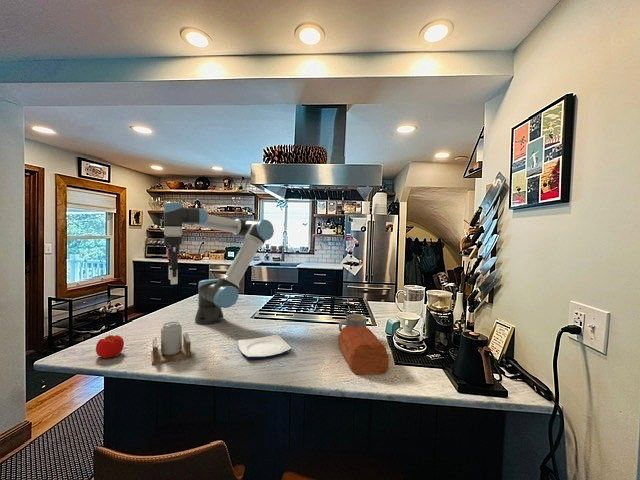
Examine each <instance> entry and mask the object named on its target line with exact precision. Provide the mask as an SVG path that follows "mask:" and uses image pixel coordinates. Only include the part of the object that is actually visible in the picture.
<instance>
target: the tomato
mask: <svg viewBox="0 0 640 480" xmlns="http://www.w3.org/2000/svg"><path fill="white" fill-rule="evenodd" d="M124 346H125V342H124V339H123V337H122V336H121V335H119V334H118V335H111V334H110V335H107V336H105V337H104V338H100V339H99V340H98V341H97V343H96V345H95V353H96V355H97V356H98V357H101V358H104V359H109V358H115V357H117V356H118V355H120V354H121V353H122V351H123V350H124Z"/></svg>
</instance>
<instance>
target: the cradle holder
mask: <svg viewBox="0 0 640 480" xmlns="http://www.w3.org/2000/svg"><path fill="white" fill-rule="evenodd" d="M182 335H183V336H182V337H183V338H182V340H183V341H182V349H181V351H180V352H179V353H177V354H175V355H170V356H166V355H164V354H162V353H161V348H159V345H158V344H159V343H158V337H157V336H154V337H152V350H151V351H150V353H151V354H150V355H151V366H154V365H158V364H159V365H160V364H164V363H170V362H175V361H180V360H185V359H186V360H187V359H191V358H193V353H192V351H191V344H192V343H191V342H192V341H191V339H190V336H189V333H188V332H183V333H182Z"/></svg>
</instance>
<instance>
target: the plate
mask: <svg viewBox="0 0 640 480" xmlns="http://www.w3.org/2000/svg"><path fill="white" fill-rule="evenodd" d="M237 344H238V350H239V351H240V352H241V354H242V355H243V356H244V357H245V358H247V359H254V360H255V359H266V358H272V357H275V356H276V357H277V356H281V355H283V354H286V353H289V352H290V351H292V350H293V349H292V346H290V345H289V344H288V343H287V342H286V341H285V339H283V338H282V337H281V336H280V335H279V334H277V333H276V334H273V335H272V334H271V335H268V336H263V337H257V338H250V339H249V338H248V339H239V340H237Z"/></svg>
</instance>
